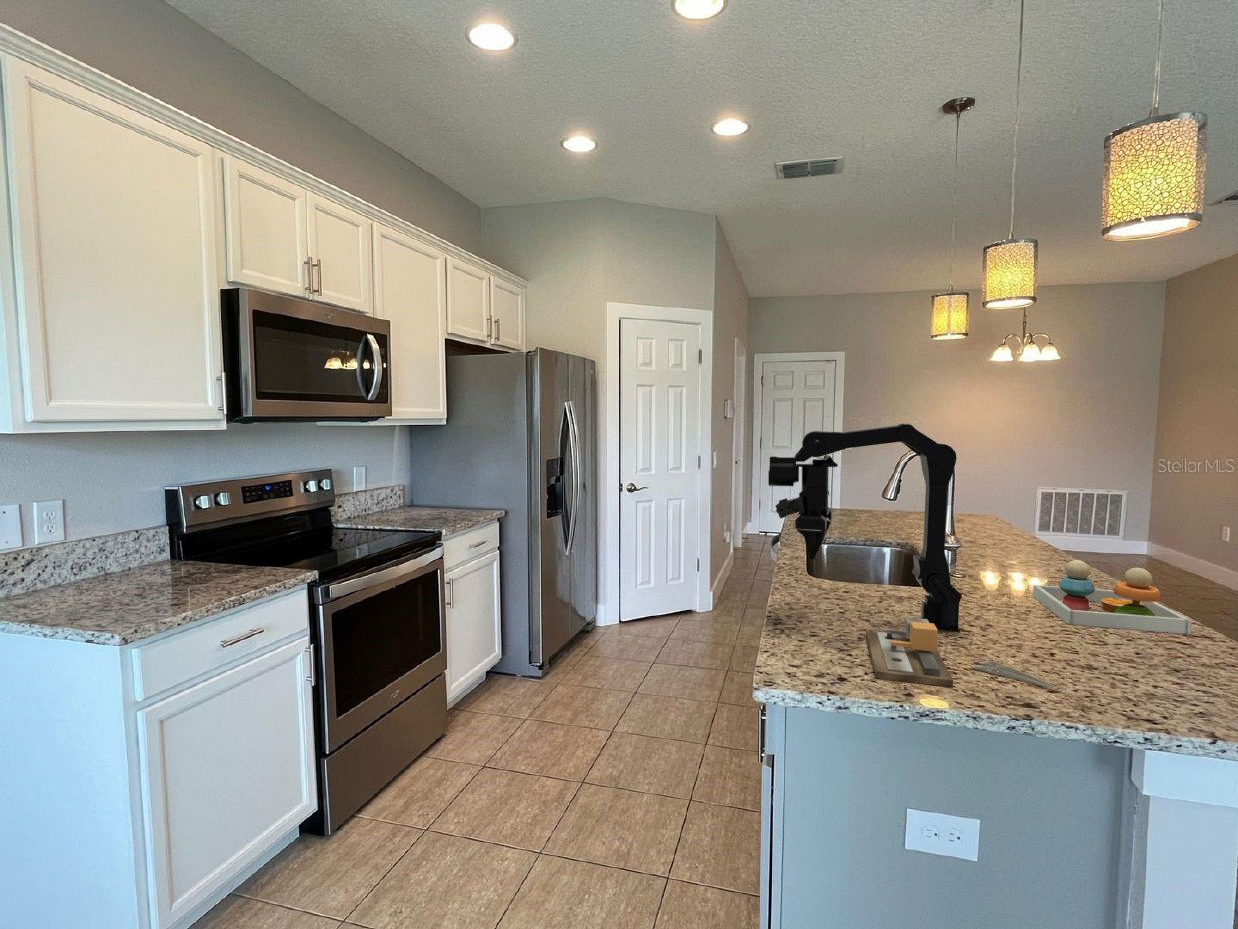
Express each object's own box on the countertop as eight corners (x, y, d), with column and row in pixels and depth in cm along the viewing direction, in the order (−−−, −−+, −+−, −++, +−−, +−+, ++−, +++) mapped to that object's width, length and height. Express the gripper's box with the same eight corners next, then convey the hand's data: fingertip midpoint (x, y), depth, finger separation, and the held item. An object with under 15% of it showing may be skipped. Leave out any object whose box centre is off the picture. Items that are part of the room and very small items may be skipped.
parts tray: (1136, 604, 152) (1137, 592, 152) (1190, 634, 130) (1191, 620, 130) (1032, 596, 159) (1033, 584, 158) (1067, 624, 137) (1068, 610, 136)
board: (930, 643, 125) (930, 616, 124) (953, 687, 104) (954, 655, 103) (865, 636, 128) (866, 611, 128) (875, 678, 107) (876, 647, 107)
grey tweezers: (969, 671, 112) (970, 660, 112) (980, 665, 115) (982, 655, 114) (1085, 713, 98) (1087, 701, 98) (1095, 705, 101) (1096, 694, 101)
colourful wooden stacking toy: (1147, 611, 147) (1150, 559, 146) (1162, 631, 132) (1165, 573, 132) (1055, 599, 157) (1057, 550, 156) (1059, 617, 142) (1061, 563, 141)
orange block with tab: (932, 649, 116) (933, 623, 116) (936, 656, 112) (937, 630, 112) (889, 644, 118) (890, 619, 118) (891, 652, 115) (892, 626, 114)
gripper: (784, 482, 151) (784, 545, 152) (771, 489, 134) (771, 560, 135) (832, 483, 147) (832, 548, 148) (825, 491, 130) (824, 565, 131)
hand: (814, 555), depth 141 cm, fingers open, 9 cm apart
